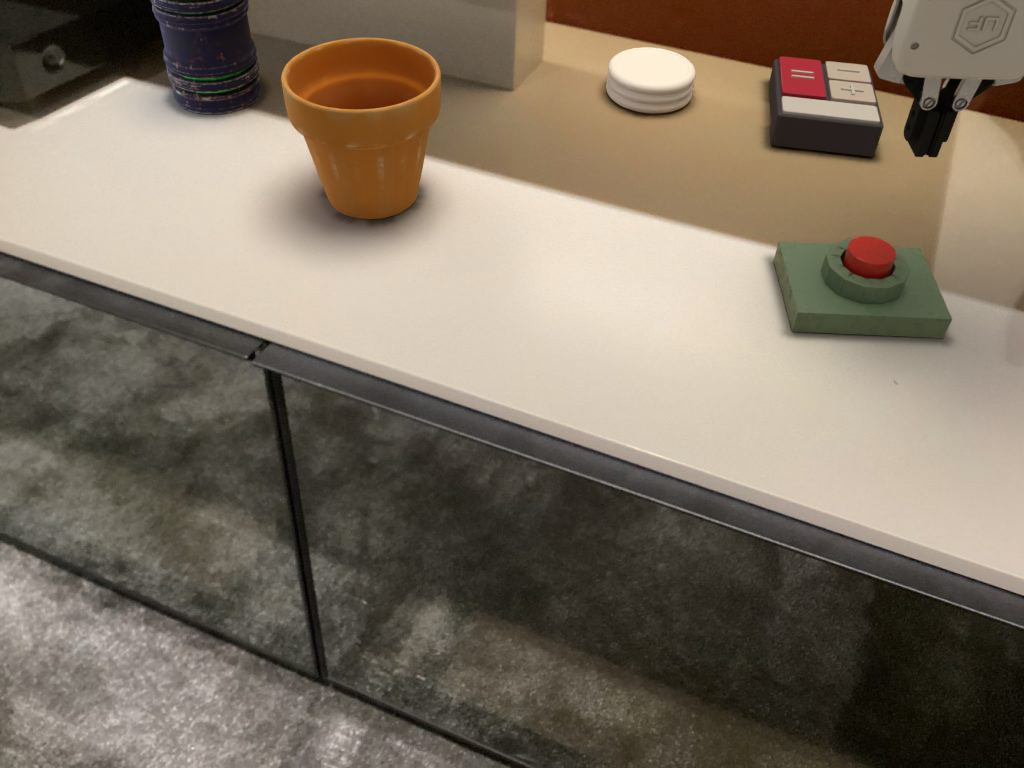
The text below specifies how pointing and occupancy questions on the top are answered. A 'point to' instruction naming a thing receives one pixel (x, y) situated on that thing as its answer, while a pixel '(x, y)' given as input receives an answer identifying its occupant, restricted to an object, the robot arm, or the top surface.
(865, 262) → the red push button
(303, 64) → the flower pot
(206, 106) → the storage jar
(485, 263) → the top surface
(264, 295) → the top surface
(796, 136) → the calculator
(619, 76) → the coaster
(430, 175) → the top surface
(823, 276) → the button box
